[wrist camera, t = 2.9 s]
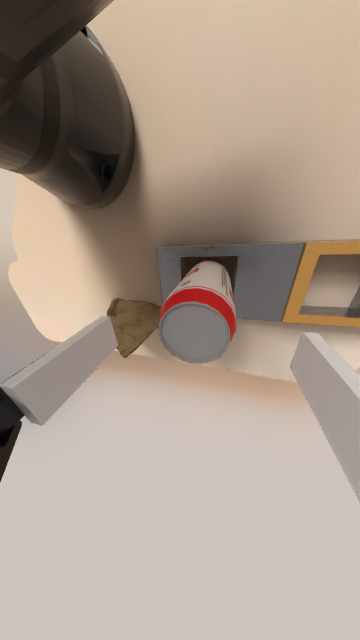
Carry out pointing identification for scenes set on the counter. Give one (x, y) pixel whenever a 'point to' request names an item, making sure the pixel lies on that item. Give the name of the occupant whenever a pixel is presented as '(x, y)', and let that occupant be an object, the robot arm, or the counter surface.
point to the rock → (132, 323)
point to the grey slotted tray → (268, 278)
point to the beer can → (199, 314)
